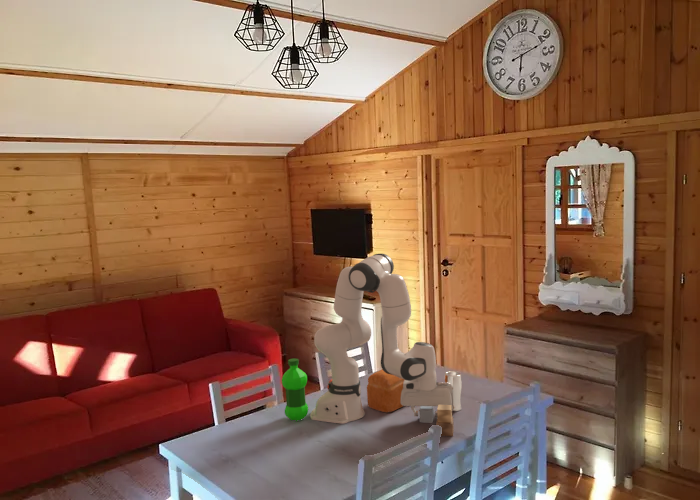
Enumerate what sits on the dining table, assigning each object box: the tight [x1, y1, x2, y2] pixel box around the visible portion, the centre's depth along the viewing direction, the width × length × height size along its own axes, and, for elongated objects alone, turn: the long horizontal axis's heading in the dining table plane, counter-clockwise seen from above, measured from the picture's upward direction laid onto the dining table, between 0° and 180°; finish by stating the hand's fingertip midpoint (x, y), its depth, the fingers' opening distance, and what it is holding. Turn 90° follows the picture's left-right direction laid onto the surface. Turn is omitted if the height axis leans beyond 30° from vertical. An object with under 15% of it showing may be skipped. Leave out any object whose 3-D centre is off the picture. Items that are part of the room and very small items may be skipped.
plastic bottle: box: [281, 358, 309, 422], centre depth 243 cm, size 10×10×25 cm
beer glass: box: [444, 370, 463, 412], centre depth 246 cm, size 7×7×15 cm
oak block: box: [436, 405, 453, 423], centre depth 223 cm, size 5×5×5 cm
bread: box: [366, 368, 404, 413], centre depth 257 cm, size 14×26×16 cm, turn 134°
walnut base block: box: [435, 416, 455, 437], centre depth 224 cm, size 6×6×5 cm
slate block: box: [418, 406, 435, 424], centre depth 236 cm, size 5×5×5 cm
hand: (426, 416), depth 236 cm, fingers open, 7 cm apart
